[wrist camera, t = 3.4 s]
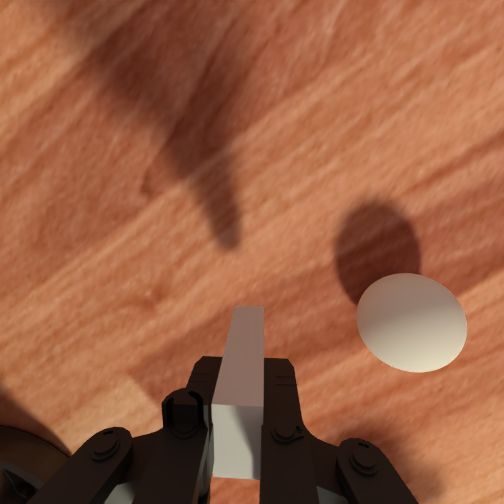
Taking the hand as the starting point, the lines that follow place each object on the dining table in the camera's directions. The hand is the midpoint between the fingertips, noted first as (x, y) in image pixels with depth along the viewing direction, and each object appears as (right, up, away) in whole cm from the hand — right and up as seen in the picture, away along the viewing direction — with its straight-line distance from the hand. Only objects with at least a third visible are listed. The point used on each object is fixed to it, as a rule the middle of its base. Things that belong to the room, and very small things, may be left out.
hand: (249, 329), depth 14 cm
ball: (+9, 0, +1) cm, 9 cm away
